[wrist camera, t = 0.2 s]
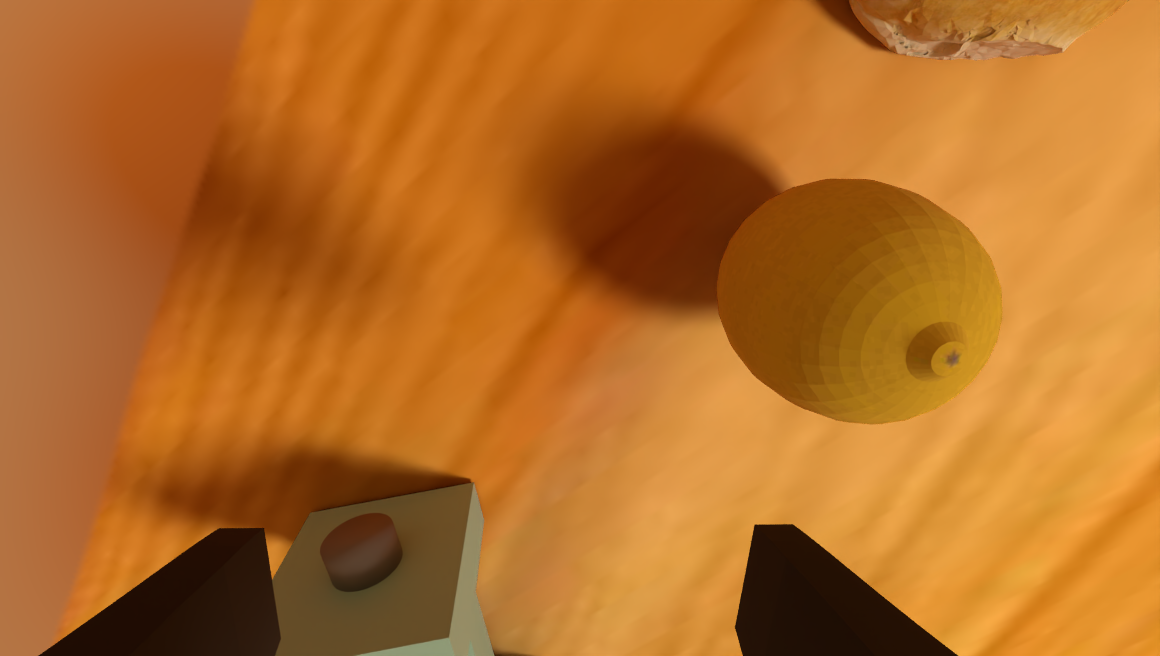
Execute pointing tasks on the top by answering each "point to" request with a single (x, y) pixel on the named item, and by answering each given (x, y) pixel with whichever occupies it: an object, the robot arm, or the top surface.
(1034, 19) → the bread roll
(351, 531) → the handle
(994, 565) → the top surface
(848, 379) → the lemon
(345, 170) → the top surface
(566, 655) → the top surface
